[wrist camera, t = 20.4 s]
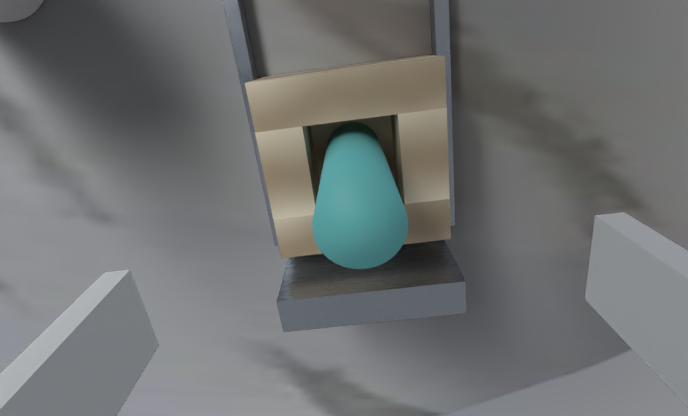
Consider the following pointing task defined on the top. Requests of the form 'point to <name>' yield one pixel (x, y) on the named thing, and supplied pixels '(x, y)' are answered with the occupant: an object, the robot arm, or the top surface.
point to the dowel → (358, 201)
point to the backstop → (372, 283)
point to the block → (360, 107)
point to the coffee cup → (17, 9)
